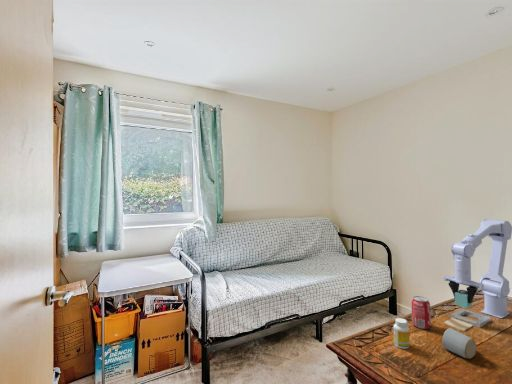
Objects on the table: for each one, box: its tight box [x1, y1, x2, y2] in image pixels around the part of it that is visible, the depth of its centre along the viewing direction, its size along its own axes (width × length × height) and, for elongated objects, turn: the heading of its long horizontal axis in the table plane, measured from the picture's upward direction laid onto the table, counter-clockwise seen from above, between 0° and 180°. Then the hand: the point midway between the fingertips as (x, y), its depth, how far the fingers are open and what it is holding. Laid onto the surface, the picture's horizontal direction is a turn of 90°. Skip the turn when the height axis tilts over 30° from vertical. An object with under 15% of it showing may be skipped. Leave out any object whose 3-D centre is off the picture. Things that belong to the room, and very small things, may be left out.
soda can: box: [411, 295, 432, 330], centre depth 119 cm, size 7×7×12 cm
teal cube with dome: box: [454, 289, 473, 309], centre depth 122 cm, size 5×5×6 cm
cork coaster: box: [442, 317, 474, 332], centre depth 120 cm, size 8×8×1 cm
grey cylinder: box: [441, 327, 478, 360], centre depth 100 cm, size 11×8×8 cm
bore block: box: [450, 308, 492, 328], centre depth 124 cm, size 11×11×2 cm
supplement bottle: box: [392, 317, 410, 350], centre depth 105 cm, size 5×5×10 cm
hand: (463, 300), depth 122 cm, fingers closed on teal cube with dome, 5 cm apart
